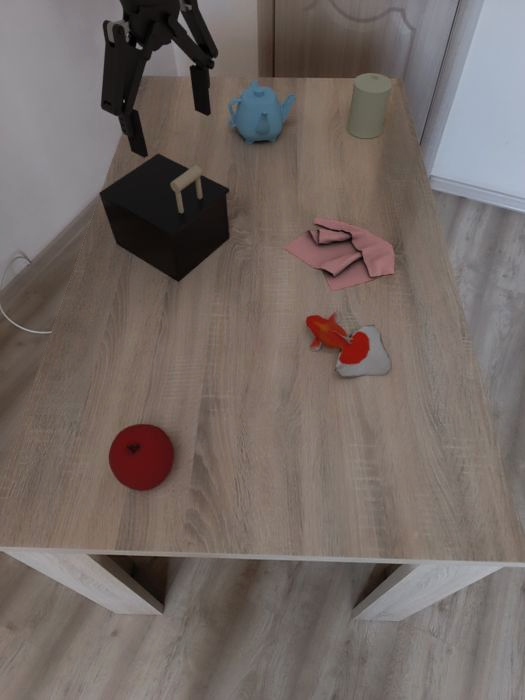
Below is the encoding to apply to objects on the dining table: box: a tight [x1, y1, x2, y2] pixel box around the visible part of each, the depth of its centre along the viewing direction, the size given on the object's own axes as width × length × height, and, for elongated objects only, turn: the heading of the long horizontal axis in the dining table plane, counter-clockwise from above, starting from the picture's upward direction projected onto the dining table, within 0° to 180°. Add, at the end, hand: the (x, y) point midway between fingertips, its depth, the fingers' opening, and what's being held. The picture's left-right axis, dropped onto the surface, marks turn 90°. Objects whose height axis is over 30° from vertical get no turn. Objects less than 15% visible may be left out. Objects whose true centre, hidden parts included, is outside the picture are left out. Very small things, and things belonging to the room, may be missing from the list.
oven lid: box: [98, 153, 230, 237], centre depth 86 cm, size 18×16×7 cm
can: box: [346, 72, 393, 140], centre depth 117 cm, size 9×9×12 cm
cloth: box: [283, 217, 396, 292], centre depth 96 cm, size 20×22×2 cm
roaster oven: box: [100, 194, 230, 283], centre depth 94 cm, size 18×16×12 cm
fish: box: [305, 309, 392, 379], centre depth 79 cm, size 11×16×10 cm
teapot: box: [227, 80, 297, 145], centre depth 116 cm, size 15×14×11 cm
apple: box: [108, 423, 175, 492], centre depth 67 cm, size 9×9×10 cm
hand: (172, 132), depth 71 cm, fingers open, 13 cm apart
